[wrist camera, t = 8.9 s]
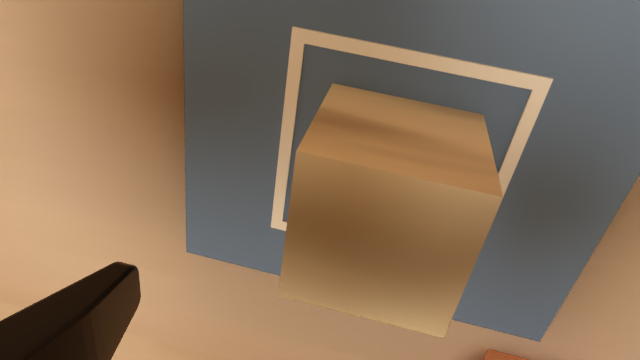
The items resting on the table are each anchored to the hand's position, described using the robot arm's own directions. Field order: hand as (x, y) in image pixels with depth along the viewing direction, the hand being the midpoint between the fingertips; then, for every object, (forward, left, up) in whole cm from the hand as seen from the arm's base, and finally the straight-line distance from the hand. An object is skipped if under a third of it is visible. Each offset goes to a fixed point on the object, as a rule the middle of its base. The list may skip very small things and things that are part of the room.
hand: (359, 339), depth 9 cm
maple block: (0, 0, -7) cm, 7 cm away
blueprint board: (0, 0, -8) cm, 8 cm away
